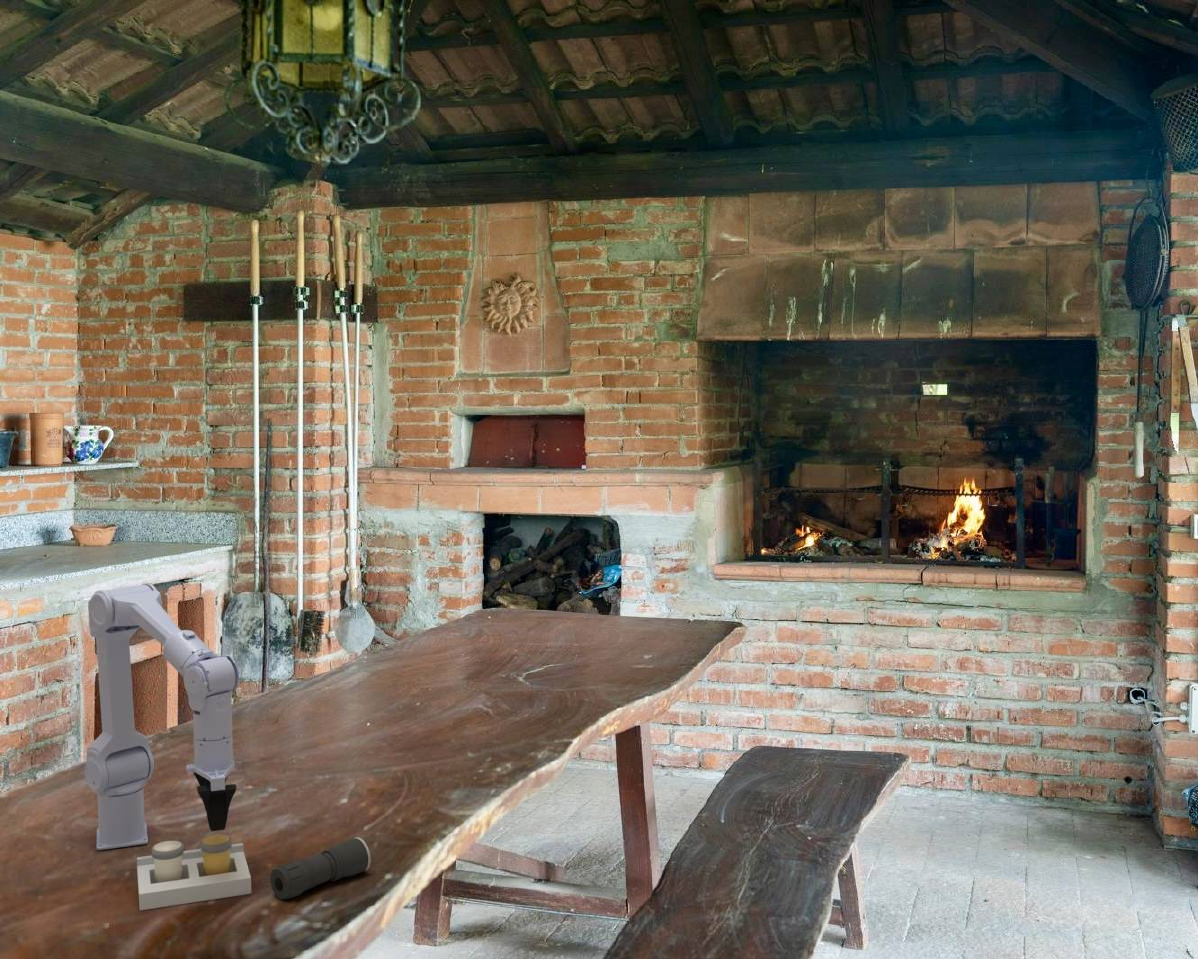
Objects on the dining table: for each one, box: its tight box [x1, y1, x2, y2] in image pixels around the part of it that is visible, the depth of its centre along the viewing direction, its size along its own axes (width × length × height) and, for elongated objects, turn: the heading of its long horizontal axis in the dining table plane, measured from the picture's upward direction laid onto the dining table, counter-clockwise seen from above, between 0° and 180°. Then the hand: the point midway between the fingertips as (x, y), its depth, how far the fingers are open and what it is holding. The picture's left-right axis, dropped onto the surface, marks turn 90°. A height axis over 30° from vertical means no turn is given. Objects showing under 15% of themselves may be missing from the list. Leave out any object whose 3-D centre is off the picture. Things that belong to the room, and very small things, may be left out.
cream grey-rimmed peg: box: [151, 840, 185, 883], centre depth 190 cm, size 5×5×7 cm
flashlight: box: [270, 836, 372, 900], centre depth 192 cm, size 15×5×5 cm, turn 137°
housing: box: [136, 842, 252, 911], centre depth 191 cm, size 12×16×4 cm
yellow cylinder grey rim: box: [200, 833, 233, 876], centre depth 192 cm, size 5×5×7 cm
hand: (215, 821), depth 192 cm, fingers open, 7 cm apart
